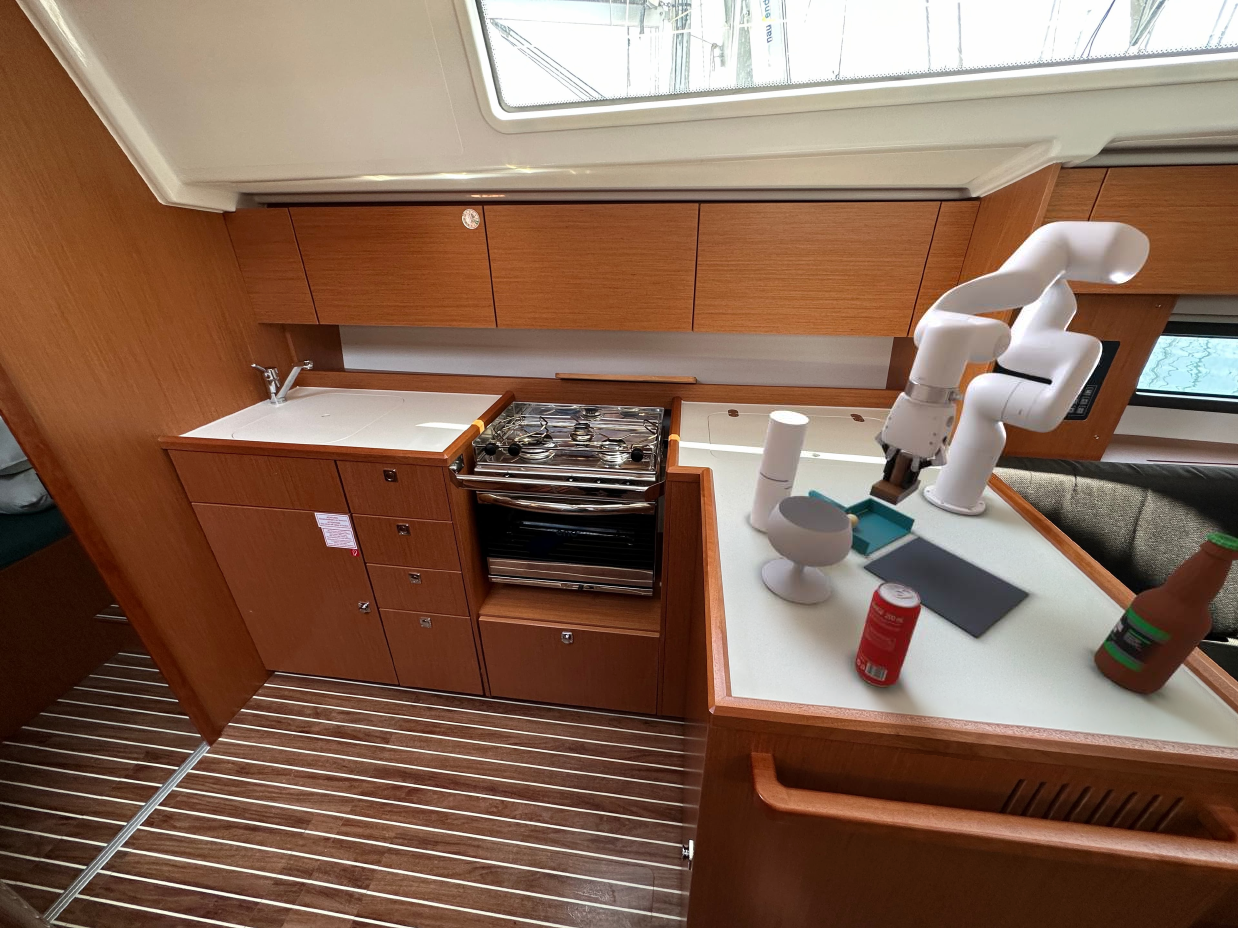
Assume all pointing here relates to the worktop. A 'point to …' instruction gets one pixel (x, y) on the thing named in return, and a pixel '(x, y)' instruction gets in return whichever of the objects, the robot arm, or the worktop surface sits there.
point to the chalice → (805, 547)
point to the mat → (949, 584)
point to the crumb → (853, 520)
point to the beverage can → (887, 633)
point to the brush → (895, 481)
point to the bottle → (1167, 620)
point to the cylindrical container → (778, 464)
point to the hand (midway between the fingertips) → (897, 481)
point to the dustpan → (873, 523)
